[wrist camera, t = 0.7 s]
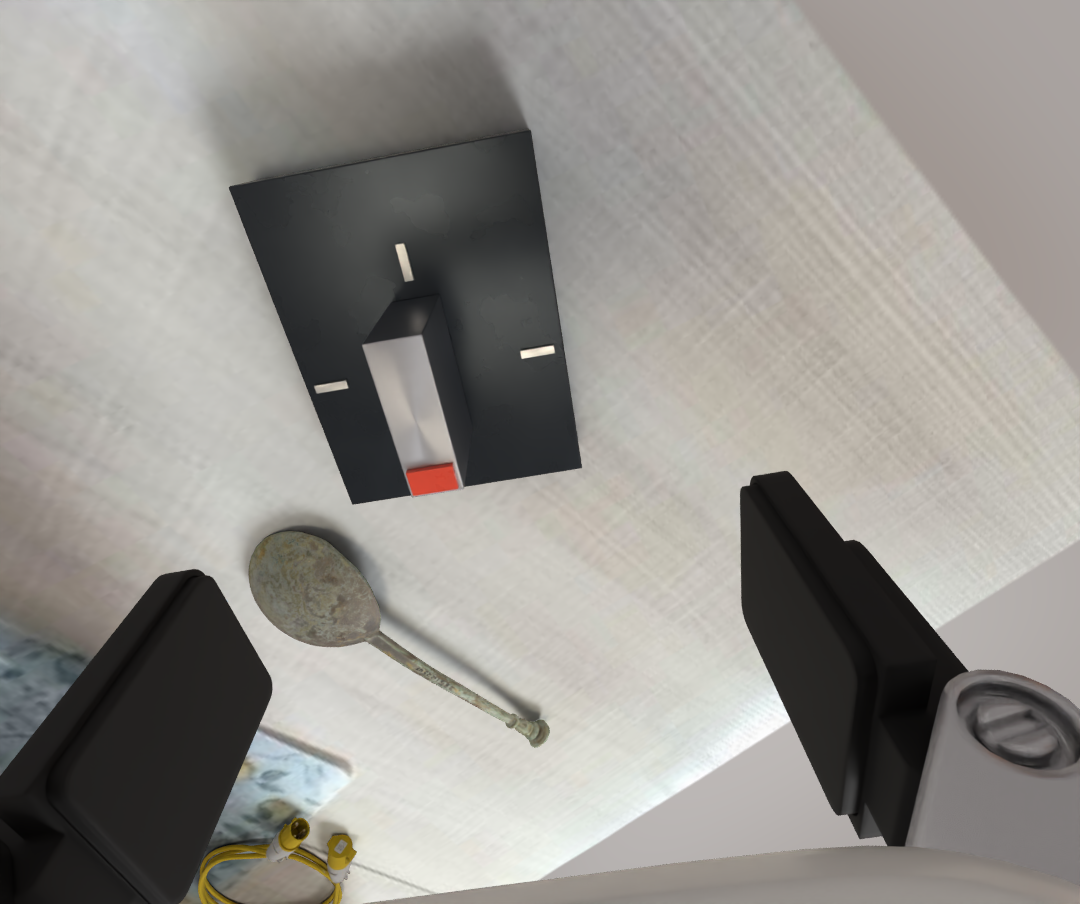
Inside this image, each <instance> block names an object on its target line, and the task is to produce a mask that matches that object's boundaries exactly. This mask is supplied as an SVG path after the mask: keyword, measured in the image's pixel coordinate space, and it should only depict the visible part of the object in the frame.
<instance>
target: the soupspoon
mask: <svg viewBox="0 0 1080 904" xmlns="http://www.w3.org/2000/svg"><path fill="white" fill-rule="evenodd" d="M249 583H250V588H251V591H252V594H253V597H254V599H255V601H256V603H257V605H258V606H259V608H260V610H261V611H262V612H263V614H264V615H265V616H266V617H267V618H268V620H269V621H270V622H271V623H272V624H273V625H275V626H276V627H277V628H278V629H279V630H281V631H282V632H284V633H285V634H287V635H288V636H290V637H292V638H294V639H296V640H299V641H301V642H304V643H307V644H310V645H315V646H322V647H343V646H349V645H353V644H357V643H361V642H364V641H365V642H368V643H369V644H371V645H373V646H374V647H376V648H378V649H379V650H380V651H382V652H383V653H385V654H387V655H388V656H389V657H391V658H392V659H394V660H396V661H397V662H399V663H400V664H402V665H403V666H405V667H407V668H408V669H410V670H411V671H413V672H414V673H416V674H418V675H420V676H422V677H424V678H425V679H427V680H429V681H431V682H432V683H434V684H436V685H438V686H440V687H441V688H443V689H445V690H446V691H448V692H450V693H452V694H454V695H456V696H458V697H460V698H461V699H463V700H465V701H467V702H469V703H470V704H472V705H474V706H476V707H478V708H479V709H481V710H483V711H485V712H487V713H488V714H490V715H492V716H494V717H496V718H498V719H500V720H502V721H504V722H505V723H506V726H507V727H508V728H510V729H512V728H515V729H516V730H517V731H518V732H519V733H521V734H522V735H524V736H525V737H526V738H527V739H528V740H529V742H530V744H531V746H532V747H534V748H536V747H540V746H541V745H542V744H544V743H545V742H546V740H547V738H548V736H549V733H550V730H549V726H548V725H547V723H546V722H545V721H544V720H537V721H535V722H530V721H527V720H525V719H521V718H520V719H518V716H517V715H515V714H509V713H507V712H505V711H504V710H502V709H500V708H499V707H497V706H496V705H494V704H492V703H491V702H489V701H487V700H486V699H484V698H482V697H481V696H479V695H478V694H476V693H474V692H472V691H471V690H469V689H468V688H466V687H464V686H463V685H461V684H459V683H458V682H456V681H454V680H452V679H451V678H449V677H447V676H446V675H444V674H442V673H440V672H439V671H437V670H436V669H434V668H432V667H431V666H429V665H428V664H426V663H425V662H423V661H422V660H420V659H419V658H417V657H416V656H414V655H413V654H411V653H410V652H409V651H407V650H406V649H404V648H403V647H401V646H400V645H399V644H397V643H396V642H395V641H393V640H392V639H390V638H389V637H388V636H386V635H384V634H383V633H382V632H381V631H380V630H379V628H380V620H381V615H380V610H379V605H378V603H377V601H376V599H375V596H374V594H373V591H372V589H371V587H370V586H369V584H368V582H367V581H366V579H365V578H364V577H363V576H362V575H361V573H360V571H359V570H358V569H357V568H356V567H355V566H354V565H353V564H351V563H350V561H349V560H347V559H346V558H345V557H344V556H343V555H342V554H341V553H340V552H338V551H337V550H336V549H335V548H334V547H333V546H332V545H330V543H328V542H327V541H325V540H324V539H321V538H319V537H316V536H313V535H309V534H306V533H303V532H295V531H286V532H279V533H277V534H273V535H270V536H268V537H266V538H265V539H264V540H263V541H262V542H261V543H260V544H259V545H258V546H257V547H256V549H255V551H254V553H253V555H252V557H251V560H250V565H249Z"/></svg>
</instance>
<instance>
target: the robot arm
mask: <svg viewBox="0 0 1080 904" xmlns="http://www.w3.org/2000/svg"><path fill="white" fill-rule="evenodd" d="M740 517H741V599H742V610H743V615H744V619H745V622H746V624H747V627H748V629H749V631H750V633H751V635H752V638H753V640H754V642H755V644H756V646H757V648H758V650H759V653H760V655H761V657H762V659H763V661H764V663H765V666H766V668H767V670H768V672H769V674H770V676H771V679H772V681H773V683H774V685H775V687H776V689H777V691H778V694H779V696H780V698H781V700H782V702H783V704H784V707H785V709H786V711H787V713H788V715H789V717H790V720H791V722H792V724H793V726H794V728H795V730H796V732H797V734H798V737H799V739H800V741H801V743H802V745H803V747H804V750H805V752H806V754H807V756H808V758H809V761H810V762H811V765H812V767H813V769H814V771H815V774H816V775H817V778H818V780H819V782H820V784H821V786H822V789H823V791H824V793H825V795H826V797H827V799H828V802H829V804H830V805H831V807H832V809H833V811H834V812H835V813H836V814H837V815H838V816H839V815H846V814H848V816H849V818H850V820H851V822H852V824H853V826H854V829H855V831H856V833H857V835H858V837H859V839H864V838H872V837H879V836H883V838H884V840H885V842H886V844H887V846H855V847H838V848H819V849H802V850H792V851H783V852H774V853H765V854H756V855H746V856H737V857H729V858H720V859H709V860H700V861H691V862H682V863H673V864H666V865H658V866H651V867H643V868H634V869H626V870H619V871H611V872H604V873H595V874H587V875H579V876H571V877H564V878H556V879H548V880H540V881H532V882H524V883H516V884H509V885H501V886H493V887H485V888H478V889H470V890H463V891H455V892H447V893H440V894H432V895H425V896H417V897H410V898H402V899H395V900H387V901H380V902H372V903H365V904H1080V709H1079V708H1077V707H1076V706H1075V705H1074V704H1073V703H1072V702H1071V701H1070V700H1069V699H1067V698H1066V697H1064V696H1062V695H1061V694H1059V693H1058V692H1056V691H1054V690H1053V689H1051V688H1050V687H1048V686H1046V685H1044V684H1041V683H1039V682H1037V681H1034V680H1032V679H1029V678H1027V677H1025V676H1022V675H1018V674H1013V673H1009V672H1004V671H1000V670H975V671H970V672H969V671H968V670H967V669H966V668H965V667H964V666H963V664H962V663H961V662H960V661H959V659H958V658H957V657H956V656H955V655H954V653H952V651H951V650H950V649H949V647H948V646H947V645H946V644H945V643H944V641H943V640H942V639H941V638H940V636H938V634H937V633H936V632H935V630H934V629H933V628H932V627H931V626H930V624H929V623H928V622H927V621H926V620H925V618H924V617H923V616H922V615H921V614H920V612H919V611H918V610H917V609H916V608H915V606H914V605H913V604H912V603H911V602H910V600H909V599H908V598H907V597H906V596H905V594H904V593H903V592H902V591H901V589H900V588H899V587H898V586H897V585H896V583H895V582H894V581H893V580H892V579H891V577H890V576H889V575H888V574H887V573H886V571H885V570H884V569H883V568H882V567H881V565H880V564H879V563H878V562H877V561H876V559H875V558H874V557H873V556H872V555H871V553H870V552H869V551H868V550H867V549H866V548H865V547H864V546H863V545H862V544H861V543H860V542H858V541H855V540H850V541H844V540H843V539H842V538H841V537H840V535H839V534H838V533H837V531H836V530H835V529H834V528H833V526H832V525H831V524H830V523H829V521H828V520H827V519H826V518H825V516H824V515H823V514H822V512H821V511H820V510H819V509H818V507H817V506H816V505H815V504H814V502H813V501H812V500H811V499H810V497H809V496H808V495H807V494H806V492H805V491H804V490H803V488H802V487H801V486H800V485H799V483H798V482H797V481H796V480H795V478H794V477H793V476H792V475H791V474H790V473H789V472H788V471H782V472H776V473H770V474H764V475H758V476H753V477H752V478H751V481H750V486H744V487H742V488H741V491H740ZM271 695H272V680H271V677H270V675H269V673H268V672H267V670H266V668H265V666H264V665H263V663H262V661H261V659H260V658H259V656H258V654H257V653H256V651H255V649H254V647H253V646H252V644H251V642H250V640H249V639H248V637H247V635H246V634H245V632H244V630H243V628H242V627H241V625H240V623H239V621H238V620H237V618H236V616H235V614H234V613H233V611H232V609H231V608H230V606H229V604H228V602H227V601H226V599H225V597H224V595H223V594H222V592H221V590H220V589H219V587H218V585H217V583H216V582H215V580H214V579H213V578H212V577H210V576H206V575H205V574H204V573H203V572H201V571H200V570H196V569H192V570H186V571H180V572H174V573H168V574H164V575H161V576H159V577H158V578H157V579H156V580H155V581H154V582H153V584H152V585H151V586H150V587H149V589H148V590H147V591H146V592H145V594H144V595H143V596H142V598H141V599H140V600H139V601H138V603H137V604H136V605H135V606H134V608H133V609H132V610H131V611H130V613H129V614H128V615H127V616H126V618H125V619H124V620H123V622H122V623H121V624H120V625H119V627H118V628H117V629H116V630H115V632H114V633H113V634H112V635H111V637H110V638H109V639H108V640H107V642H106V643H105V644H104V646H103V647H102V648H101V649H100V651H99V652H98V653H97V654H96V656H95V657H94V658H93V659H92V661H91V662H90V663H89V664H88V666H87V667H86V668H85V670H84V671H83V672H82V673H81V675H80V676H79V677H78V678H77V680H76V681H75V682H74V683H73V685H72V686H71V687H70V688H69V690H68V691H67V692H66V694H65V695H64V696H63V697H62V699H61V700H60V701H59V702H58V704H57V705H56V706H55V707H54V709H53V710H52V711H51V712H50V714H49V715H48V716H47V718H46V719H45V720H44V721H43V723H42V724H41V725H40V726H39V728H38V729H37V730H36V731H35V733H34V734H33V735H32V736H31V738H30V739H29V740H28V742H27V743H26V744H25V745H24V747H23V748H22V749H21V750H20V752H19V753H18V754H17V755H16V757H15V758H14V759H13V760H12V762H11V763H10V764H9V766H8V767H7V768H6V769H5V771H4V772H3V773H2V774H1V776H0V904H179V903H180V902H181V901H182V900H183V899H184V897H185V896H186V894H187V892H188V890H189V888H190V886H191V883H192V881H193V879H194V876H195V874H196V872H197V869H198V867H199V865H200V862H201V860H202V858H203V855H204V853H205V851H206V848H207V846H208V844H209V841H210V839H211V837H212V834H213V832H214V830H215V827H216V825H217V823H218V820H219V818H220V816H221V813H222V811H223V809H224V806H225V804H226V802H227V799H228V797H229V795H230V792H231V790H232V787H233V785H234V783H235V780H236V778H237V776H238V773H239V771H240V769H241V766H242V764H243V762H244V759H245V757H246V755H247V752H248V750H249V748H250V745H251V743H252V741H253V738H254V736H255V734H256V731H257V729H258V727H259V724H260V722H261V720H262V717H263V715H264V713H265V710H266V708H267V706H268V703H269V701H270V698H271Z"/></svg>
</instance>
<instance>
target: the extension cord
mask: <svg viewBox="0 0 1080 904" xmlns="http://www.w3.org/2000/svg"><path fill="white" fill-rule="evenodd" d="M291 822H292V823H291V824H290V825H287V824H285V825H284V828H283V829H282V830H281V831H279V832H278V833H277V834H276V836H275V838H274V839H273V841H272V842H271V844H262V845H254V846H249V845H228V846H224V847H221V848H218V849H216V850H214V851H212V852H211V853H209V854H208V855H207V856H206V857H205V858H204V860H203V861H202V864H201V867H200V879H199V883H198V893H199V898H200V900H201V902H202V904H209V903H210V904H218V903H217V902H216V901H214V900H213V899H212V898H211V897H210V896H209V894H208V893H207V891H206V889H207V890H208V891H209V892H210V893H211V894H212V895H213V896H214V897H216V898H217V899H219V900H220V901H222V902H223V903H225V904H237V903H234V902H232V901H230V900H228V899H226V898H225V897H223V896H222V895H220V894H219V893H218V892H217V891H215V890H214V889H213V888H212V886H211V885H210V884H209V882H208V881H207V879H206V876H207V873H208V871H209V870H210V869H211V868H212V867H213V866H214V865H216V864H218V863H220V862H222V861H225V860H233V859H252V858H267V859H268V860H269V861H270V862H275V861H278V863H280V862H281V861H282V860H283V859H284V858H286V860H288V858H289V859H294V860H297V861H299V862H302V863H304V864H306V865H308V866H310V867H311V868H313V869H315V870H317V871H318V872H320V873H321V874H323V875H324V876H325V877H327V878H328V879H329V880H330V881H331V882H332V884H333V885H334V886H335V890H334V892H333V894H332V895H331V896H330V897H329V898H328V899H327V900H326V901H325V902H323V903H322V904H329V903H330V902H331V901H332V900H333V899H334V900H333V904H339V903H340V901H341V899H342V891H341V887H340V883H341V882H342V881H343V880H344V879H345V880H347V878H348V876H347V873H348V874H350V872H349V868H350V865H351V861H352V859H353V858H354V856H355V855H356V853H357V852H356V851H355V850H354V849H353V848H352V840H351V838H350V837H349V836H347V835H338V836H332V838H331V839H330V840H329V842H328V843H327V845H328V848H329V851H328V861H327V865H326V864H325V863H324V862H322V861H321V860H319V859H318V858H316V857H315V856H313V855H312V854H310V853H308V852H306V851H304V850H302V849H299V848H298V847H299V846H300V844H301V842H302V841H303V840H304V839H305V838H306V837H307V836H308V834H309V831H310V827H309V824H308V822H307V821H306V820H305V819H303V818H298V819H297V818H296V817H295V818H294V819H293V820H292V821H291ZM228 850H229V851H228ZM225 851H226V852H225ZM246 851H252V852H256V853H248V854H236V853H241V852H246ZM221 852H223V853H221ZM292 852H295V853H297V854H300V855H302V856H304V857H306V858H308V859H310V860H312V861H313V862H315V863H316V864H315V863H313V862H312V861H310V860H308V859H306V858H304V857H301V856H299V855H296V854H292ZM218 853H220V854H218ZM215 854H218V855H216V856H215V857H213V858H212V859H211V860H210V861H209V863H208V864H207V866H206V868H205V865H206V863H207V861H208V860H209V859H210V858H211V857H212V856H214V855H215ZM279 861H280V862H279ZM317 864H318V865H317ZM205 888H206V889H205ZM208 902H209V903H208Z"/></svg>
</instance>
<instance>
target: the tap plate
mask: <svg viewBox="0 0 1080 904" xmlns="http://www.w3.org/2000/svg"><path fill="white" fill-rule="evenodd" d="M229 190H230V192H231V195H232V197H233V200H234V202H235V205H236V208H237V210H238V213H239V215H240V218H241V220H242V223H243V226H244V228H245V231H246V233H247V236H248V238H249V241H250V243H251V246H252V249H253V251H254V254H255V256H256V259H257V261H258V264H259V266H260V269H261V272H262V274H263V277H264V279H265V282H266V284H267V287H268V290H269V292H270V295H271V297H272V300H273V302H274V305H275V307H276V310H277V313H278V315H279V318H280V320H281V323H282V325H283V328H284V331H285V333H286V336H287V338H288V341H289V343H290V346H291V348H292V351H293V354H294V356H295V359H296V361H297V364H298V366H299V369H300V371H301V374H302V377H303V379H304V382H305V384H306V387H307V389H308V392H309V395H310V397H311V400H312V402H313V405H314V407H315V410H316V412H317V415H318V418H319V420H320V423H321V425H322V428H323V430H324V433H325V435H326V438H327V441H328V443H329V446H330V448H331V451H332V453H333V456H334V459H335V461H336V464H337V466H338V469H339V471H340V474H341V476H342V479H343V482H344V484H345V487H346V489H347V492H348V494H349V497H350V500H351V502H352V504H359V503H366V502H372V501H378V500H384V499H391V498H397V497H403V496H410V495H411V494H410V491H409V488H408V484H407V481H406V478H405V475H404V472H403V469H402V466H401V463H400V460H399V457H398V454H397V451H396V448H395V445H394V442H393V439H392V436H391V433H390V430H389V427H388V424H387V420H386V417H385V414H384V411H383V408H382V405H381V402H380V399H379V396H378V393H377V390H376V387H375V384H374V381H373V378H372V375H371V372H370V369H369V366H368V363H367V360H366V356H365V353H364V350H363V347H362V344H363V343H364V341H365V340H366V338H367V337H368V335H369V334H370V332H371V331H372V329H373V328H374V326H375V325H376V323H377V322H378V321H379V319H380V318H381V316H382V315H383V313H384V312H385V310H386V309H387V307H388V306H389V304H390V303H393V302H398V301H404V300H410V299H415V298H421V297H427V296H432V295H440V298H441V302H442V306H443V311H444V315H445V319H446V323H447V327H448V331H449V335H450V339H451V343H452V347H453V351H454V355H455V359H456V363H457V367H458V371H459V375H460V379H461V383H462V387H463V391H464V395H465V399H466V403H467V407H468V411H469V415H470V419H471V423H472V427H473V428H472V435H471V442H470V450H469V457H468V464H467V471H466V478H465V485H464V487H466V486H472V485H479V484H485V483H491V482H497V481H504V480H510V479H516V478H522V477H529V476H535V475H541V474H548V473H554V472H560V471H566V470H573V469H579V468H582V464H581V457H580V451H579V444H578V438H577V431H576V424H575V418H574V411H573V405H572V398H571V391H570V385H569V378H568V372H567V365H566V359H565V352H564V345H563V339H562V332H561V326H560V319H559V312H558V306H557V299H556V293H555V286H554V280H553V273H552V266H551V260H550V253H549V247H548V240H547V233H546V227H545V220H544V214H543V207H542V201H541V194H540V187H539V181H538V174H537V168H536V161H535V155H534V148H533V141H532V135H531V130H530V129H524V130H519V131H514V132H508V133H503V134H498V135H492V136H487V137H482V138H477V139H471V140H466V141H461V142H455V143H450V144H445V145H440V146H434V147H429V148H424V149H418V150H413V151H408V152H403V153H397V154H392V155H387V156H381V157H376V158H371V159H366V160H360V161H355V162H350V163H344V164H339V165H334V166H329V167H323V168H318V169H313V170H307V171H302V172H297V173H292V174H286V175H281V176H276V177H270V178H265V179H260V180H255V181H250V182H246V183H242V184H238V185H234V186H230V187H229Z"/></svg>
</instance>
